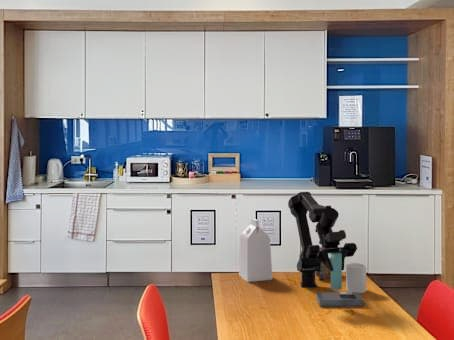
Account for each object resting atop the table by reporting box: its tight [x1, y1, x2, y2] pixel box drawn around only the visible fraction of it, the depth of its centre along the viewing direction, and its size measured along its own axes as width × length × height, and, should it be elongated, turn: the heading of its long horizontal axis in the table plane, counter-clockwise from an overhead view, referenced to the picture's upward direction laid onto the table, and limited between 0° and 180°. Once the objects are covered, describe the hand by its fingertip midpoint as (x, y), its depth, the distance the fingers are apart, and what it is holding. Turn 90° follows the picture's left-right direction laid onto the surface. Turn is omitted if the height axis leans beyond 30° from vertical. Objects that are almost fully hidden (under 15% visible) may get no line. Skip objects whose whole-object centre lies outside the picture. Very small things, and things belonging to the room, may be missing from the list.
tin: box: [315, 256, 331, 280], centre depth 258 cm, size 15×3×8 cm, turn 131°
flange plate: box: [316, 291, 365, 308], centre depth 220 cm, size 10×16×3 cm, turn 88°
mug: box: [345, 262, 367, 294], centre depth 237 cm, size 12×8×10 cm, turn 1°
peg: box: [330, 253, 343, 291], centre depth 215 cm, size 4×4×13 cm
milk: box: [238, 218, 273, 283], centre depth 259 cm, size 12×12×26 cm
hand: (337, 270), depth 214 cm, fingers closed on peg, 4 cm apart
